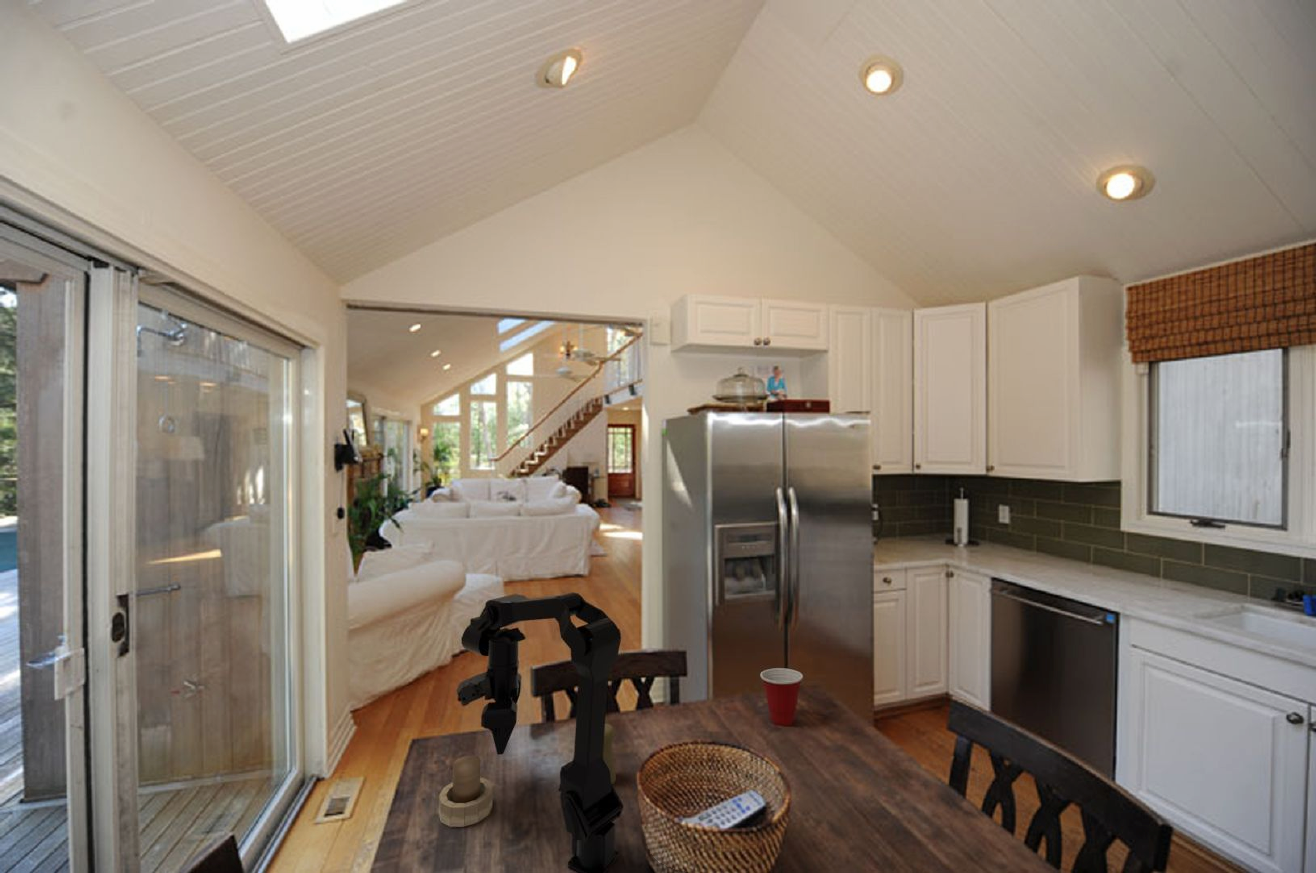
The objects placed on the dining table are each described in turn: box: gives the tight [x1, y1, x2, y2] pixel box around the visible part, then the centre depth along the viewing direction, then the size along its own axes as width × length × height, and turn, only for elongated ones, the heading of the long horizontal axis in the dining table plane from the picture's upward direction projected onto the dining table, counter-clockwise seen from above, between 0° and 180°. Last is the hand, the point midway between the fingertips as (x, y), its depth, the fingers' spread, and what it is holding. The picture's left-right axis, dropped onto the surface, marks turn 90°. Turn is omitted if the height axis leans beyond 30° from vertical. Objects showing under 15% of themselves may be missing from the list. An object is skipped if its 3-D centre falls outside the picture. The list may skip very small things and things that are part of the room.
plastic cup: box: [759, 667, 804, 727], centre depth 142 cm, size 11×11×12 cm
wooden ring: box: [438, 776, 494, 828], centre depth 105 cm, size 9×9×4 cm
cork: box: [603, 722, 617, 785], centre depth 116 cm, size 6×6×11 cm
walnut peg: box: [452, 754, 482, 803], centre depth 105 cm, size 5×5×9 cm
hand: (502, 741), depth 108 cm, fingers open, 9 cm apart
